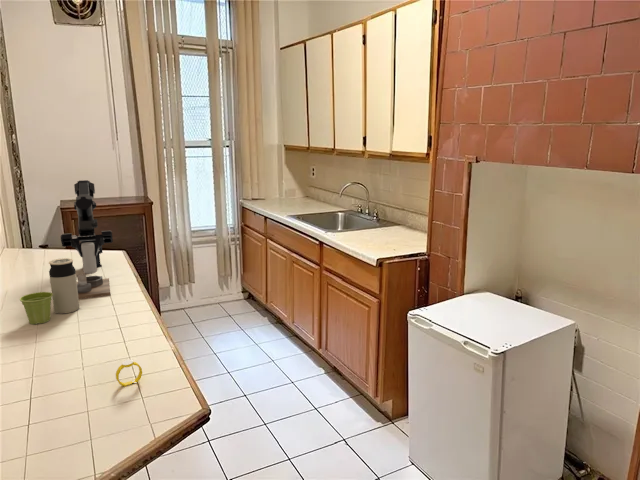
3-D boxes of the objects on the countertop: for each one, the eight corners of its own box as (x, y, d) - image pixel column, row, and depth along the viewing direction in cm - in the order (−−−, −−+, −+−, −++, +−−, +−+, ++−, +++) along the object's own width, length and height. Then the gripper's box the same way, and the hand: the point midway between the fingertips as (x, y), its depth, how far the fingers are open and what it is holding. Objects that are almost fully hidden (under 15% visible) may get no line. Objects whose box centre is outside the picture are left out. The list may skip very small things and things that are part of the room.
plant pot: (16, 324, 155) (12, 298, 153) (42, 314, 163) (39, 290, 161) (36, 328, 151) (33, 302, 149) (62, 318, 160) (59, 293, 158)
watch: (119, 390, 115) (115, 368, 114) (116, 385, 117) (112, 364, 116) (144, 381, 118) (140, 360, 117) (141, 377, 121) (137, 356, 119)
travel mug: (84, 308, 169) (79, 259, 165) (64, 315, 162) (58, 264, 158) (69, 304, 172) (63, 256, 168) (48, 312, 165) (42, 262, 161)
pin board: (66, 285, 194) (64, 268, 192) (109, 280, 200) (107, 263, 199) (63, 300, 176) (61, 281, 174) (110, 295, 183) (108, 276, 181)
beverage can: (97, 273, 190) (94, 244, 188) (84, 274, 188) (81, 245, 185) (96, 270, 194) (93, 241, 192) (83, 271, 192) (80, 242, 189)
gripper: (58, 214, 185) (59, 247, 178) (109, 211, 193) (113, 243, 186) (61, 229, 194) (63, 262, 187) (111, 226, 202) (114, 257, 195)
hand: (88, 256), depth 188 cm, fingers closed on beverage can, 5 cm apart
